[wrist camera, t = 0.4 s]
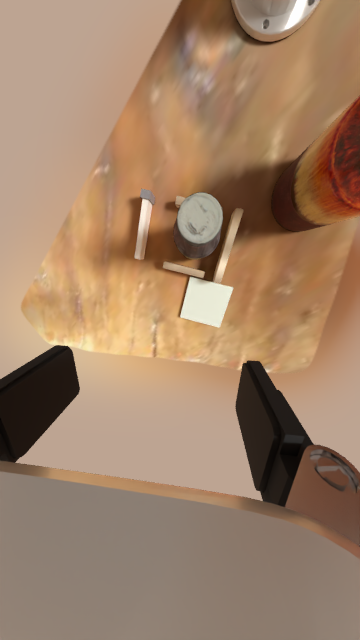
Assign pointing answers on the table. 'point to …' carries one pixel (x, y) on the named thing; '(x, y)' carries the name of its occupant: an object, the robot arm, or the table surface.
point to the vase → (323, 178)
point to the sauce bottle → (198, 225)
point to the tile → (205, 301)
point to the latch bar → (144, 222)
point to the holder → (223, 254)
